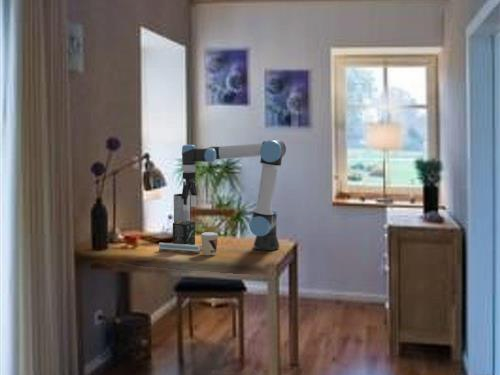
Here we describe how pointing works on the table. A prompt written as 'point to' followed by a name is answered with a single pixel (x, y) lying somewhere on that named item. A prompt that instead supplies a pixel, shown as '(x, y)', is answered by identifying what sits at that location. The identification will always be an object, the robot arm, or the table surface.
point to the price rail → (179, 247)
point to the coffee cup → (209, 243)
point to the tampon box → (184, 232)
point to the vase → (181, 208)
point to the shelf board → (182, 250)
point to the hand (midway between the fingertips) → (189, 208)
